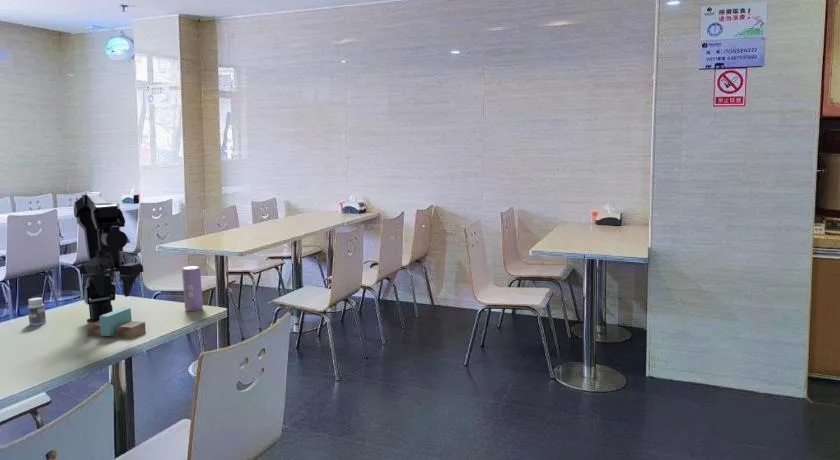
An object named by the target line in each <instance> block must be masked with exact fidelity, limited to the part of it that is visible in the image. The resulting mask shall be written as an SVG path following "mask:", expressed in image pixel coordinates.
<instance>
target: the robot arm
mask: <svg viewBox="0 0 840 460" xmlns="http://www.w3.org/2000/svg"><path fill="white" fill-rule="evenodd" d="M73 215H74V218H76V222H77V224H78V225H79V227H80V228H81V229H82V230H83V232H84V240H85V247H86V255H87V260H88V261H87V262H85V263H81V264H80V266H79V274H80V275H83V277H86V281H85V285H86V286H84V291H83V301H84V303H85V304H86V305H88V310H89V311H88V312H89V318H87V319H86V321H87V322H96V321H99V320H100V319H99V316H101V315H104V314H107V313H109V312H112V311H114V310H113V305H112V301H115V300H116V289H117V287H116V285H115V284H114V282H113V281H112V277H111V275H110V274H108V273H107V272H111V273H112V272H116V273H118V272H119V274H120V276H119V278H120V279H121V280H122V286H123V294H124V297H126V298H127V297H129V295H130V294H131V290H132V288H133V286H134V283H135V281H136V279H137V277H138V276H139V275H141V273H144V272H145V271H144V266H143V264H142V263H141V262H129V263H126V264H125V260H122V256H121V252H124V248H125V246H126V245H127V242H128V236H127V234H125V232H124V231H122V230H120V229H121V228H125V227H126V219H125V217H124V214H123V211H122V210H121V208H120V207H119V205H117V203H113V202H107V201H106V199H105V198H103V197H102V193H100V192H98V191H95V192H94V191H91V192H85V193H82V194H81V197H80V198H78V199H77V200H75V202H74V205H73Z"/></svg>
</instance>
